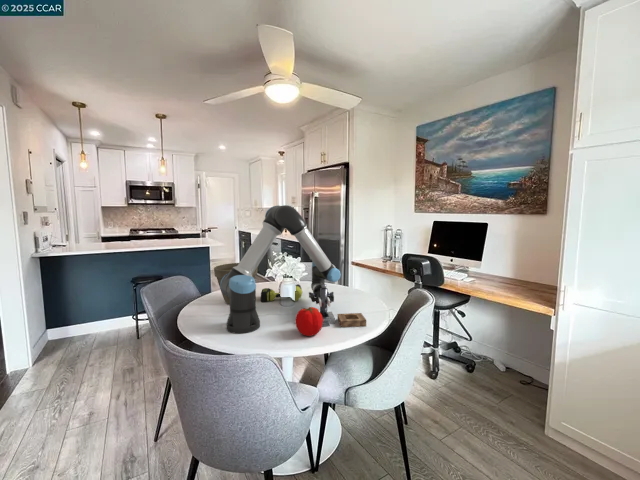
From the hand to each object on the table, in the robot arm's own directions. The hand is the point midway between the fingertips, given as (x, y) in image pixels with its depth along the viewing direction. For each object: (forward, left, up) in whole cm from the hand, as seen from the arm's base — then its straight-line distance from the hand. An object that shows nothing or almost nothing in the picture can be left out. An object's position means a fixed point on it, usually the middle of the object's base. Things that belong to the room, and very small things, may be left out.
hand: (325, 303), depth 141 cm
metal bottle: (0, +5, -8) cm, 10 cm away
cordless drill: (-21, +50, -11) cm, 55 cm away
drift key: (-2, -3, -10) cm, 11 cm away
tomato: (-8, -10, -10) cm, 16 cm away
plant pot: (-48, +42, -10) cm, 65 cm away
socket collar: (0, +5, -10) cm, 11 cm away
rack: (+13, 0, -10) cm, 16 cm away
